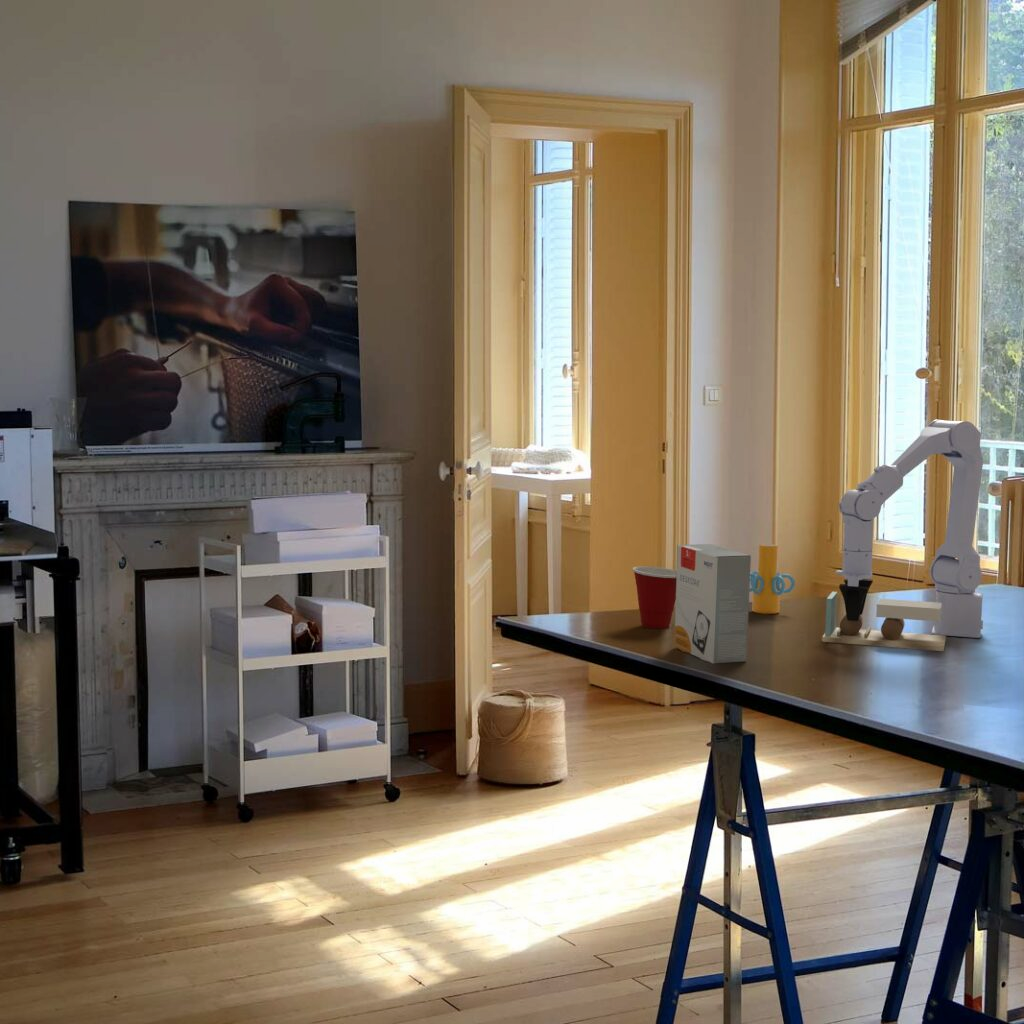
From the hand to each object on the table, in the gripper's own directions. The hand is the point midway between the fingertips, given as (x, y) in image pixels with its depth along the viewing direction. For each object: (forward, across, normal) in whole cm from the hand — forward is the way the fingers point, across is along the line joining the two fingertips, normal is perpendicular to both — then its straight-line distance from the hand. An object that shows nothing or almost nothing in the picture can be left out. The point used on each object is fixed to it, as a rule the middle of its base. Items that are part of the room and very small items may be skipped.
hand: (854, 617), depth 284 cm
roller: (+3, 0, 0) cm, 3 cm away
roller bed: (+4, 0, +6) cm, 7 cm away
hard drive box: (+4, +29, -24) cm, 38 cm away
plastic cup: (+4, +4, -40) cm, 40 cm away
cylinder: (+4, -25, -22) cm, 33 cm away
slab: (-1, 0, +11) cm, 11 cm away
